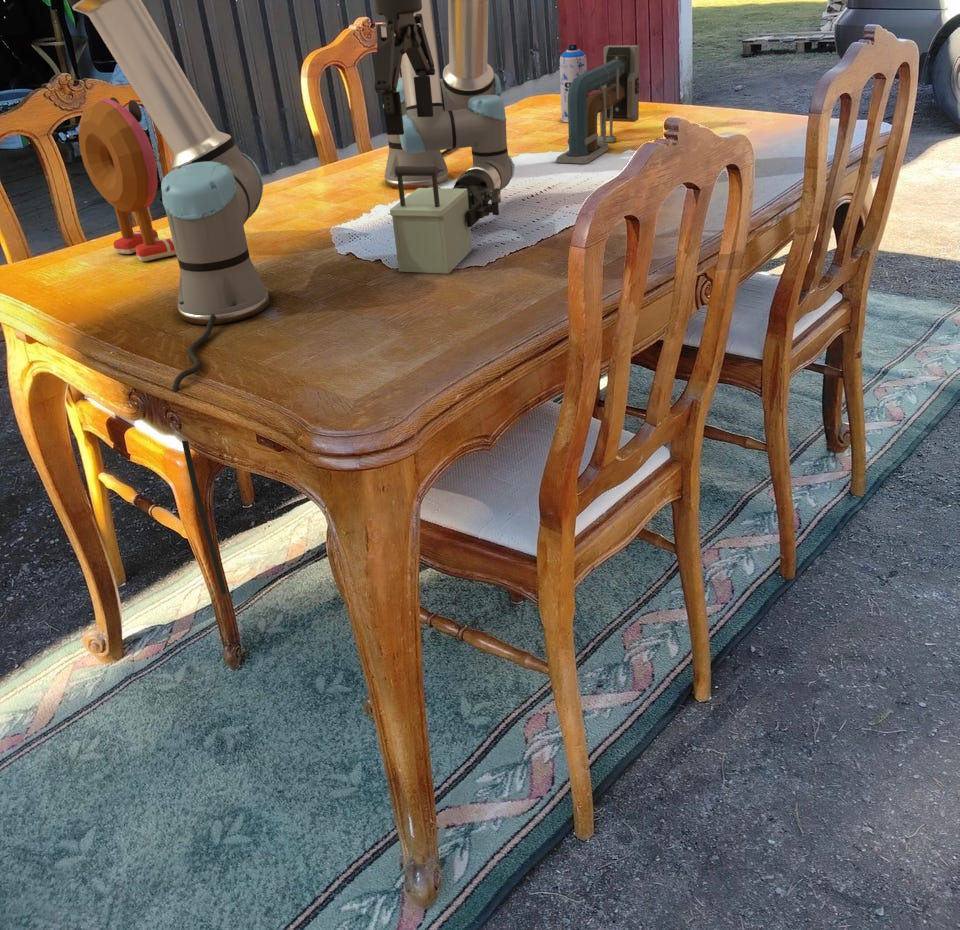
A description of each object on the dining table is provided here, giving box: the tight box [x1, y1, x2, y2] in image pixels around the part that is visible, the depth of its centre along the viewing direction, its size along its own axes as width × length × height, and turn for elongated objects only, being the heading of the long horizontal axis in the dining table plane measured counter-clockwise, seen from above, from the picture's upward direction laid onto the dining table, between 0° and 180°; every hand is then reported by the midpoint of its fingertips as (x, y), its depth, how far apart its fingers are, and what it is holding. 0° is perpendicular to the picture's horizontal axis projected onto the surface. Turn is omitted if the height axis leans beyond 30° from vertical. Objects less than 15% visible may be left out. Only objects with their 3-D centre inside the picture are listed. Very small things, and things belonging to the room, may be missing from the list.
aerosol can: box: [559, 43, 588, 123], centre depth 273 cm, size 8×8×20 cm
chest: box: [391, 195, 473, 275], centre depth 177 cm, size 13×10×10 cm
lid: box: [389, 166, 468, 217], centre depth 172 cm, size 14×10×8 cm
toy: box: [78, 96, 177, 262], centre depth 190 cm, size 21×10×30 cm, turn 47°
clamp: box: [555, 44, 640, 164], centre depth 242 cm, size 35×9×21 cm, turn 151°
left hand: (411, 125), depth 163 cm, fingers open, 13 cm apart
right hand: (439, 219), depth 179 cm, fingers open, 11 cm apart
